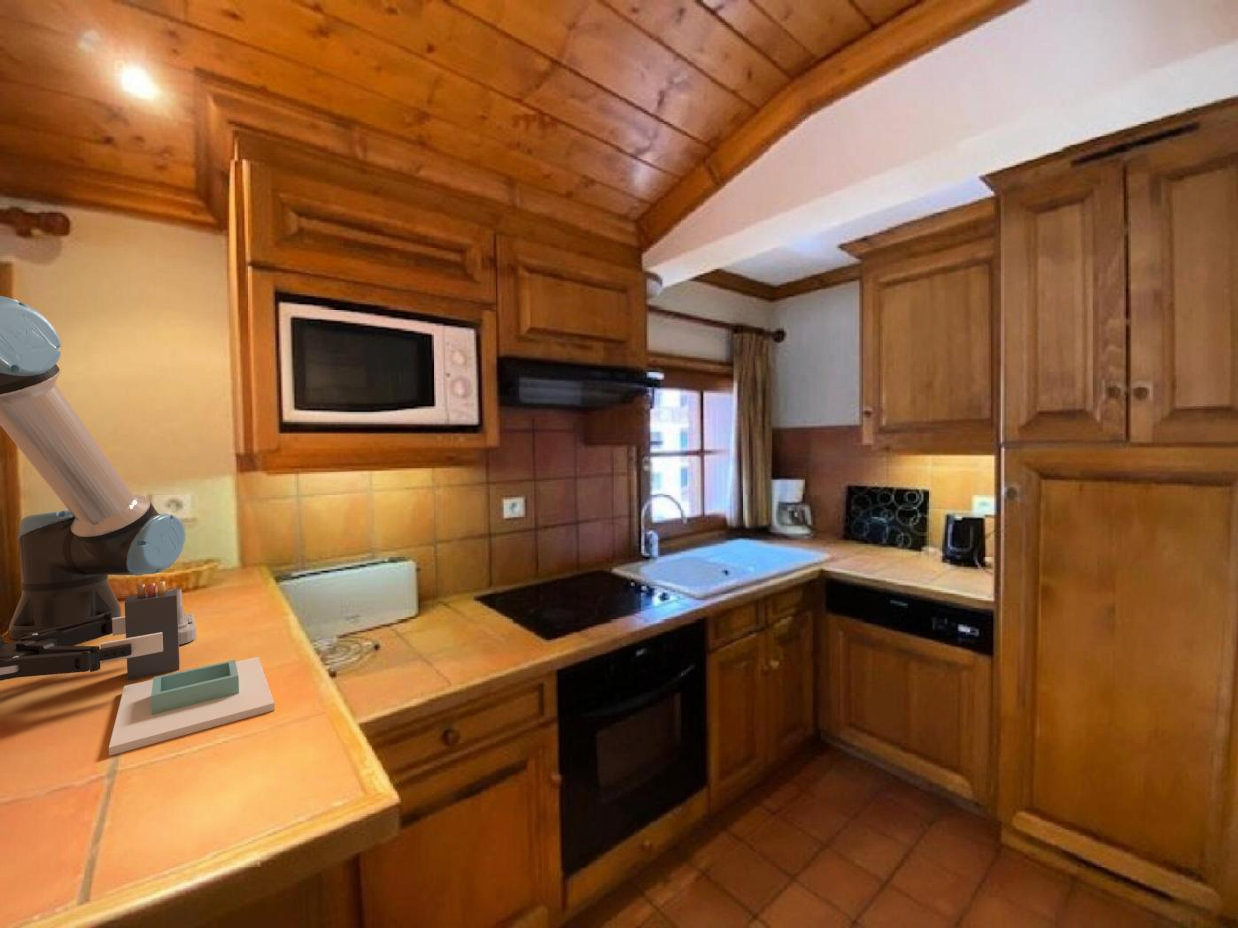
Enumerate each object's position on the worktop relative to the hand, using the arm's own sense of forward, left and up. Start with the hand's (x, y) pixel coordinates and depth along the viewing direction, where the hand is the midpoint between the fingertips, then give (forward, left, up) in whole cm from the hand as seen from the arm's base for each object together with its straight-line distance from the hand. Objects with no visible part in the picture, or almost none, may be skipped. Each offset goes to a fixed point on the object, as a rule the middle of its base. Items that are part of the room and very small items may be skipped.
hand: (164, 629), depth 83 cm
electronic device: (-18, +1, -7) cm, 20 cm away
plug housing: (0, -1, -7) cm, 7 cm away
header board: (+17, +4, -6) cm, 18 cm away
